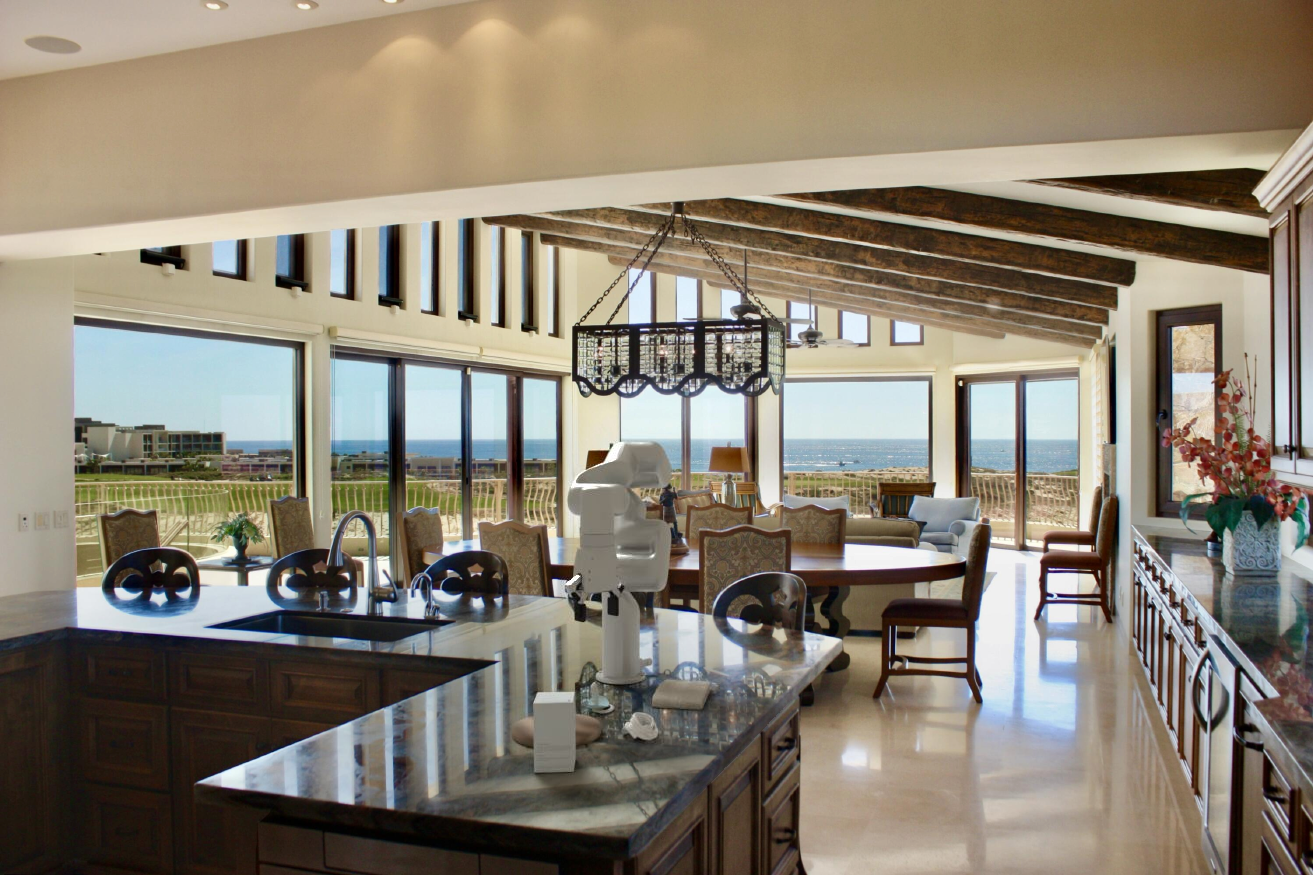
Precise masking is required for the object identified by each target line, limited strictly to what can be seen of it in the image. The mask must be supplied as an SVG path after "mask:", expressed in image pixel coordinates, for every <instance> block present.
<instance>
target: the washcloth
mask: <svg viewBox="0 0 1313 875" xmlns="http://www.w3.org/2000/svg"><path fill="white" fill-rule="evenodd" d="M711 686H712V682H710V681H706V680H700V681H696V680H695V681H691V680H690V681H689V680H684V679H680V678H679V679H665V680H663V682H659V684H658V686H657V688H656V689H655V692H653V695H652V699H651V706H652V707H653V708H657V709H658V708H663V709H664V708H665V709H681V710H695V711H696V710H698V711H701V710H703V708H704V706H705V703H706V701H707V699H708V696H709V694H710V692H711V691H712V689H711Z"/></svg>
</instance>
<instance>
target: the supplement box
mask: <svg viewBox="0 0 1313 875" xmlns="http://www.w3.org/2000/svg"><path fill="white" fill-rule="evenodd" d="M532 708H533V710H532V711H533V712H532V713H533V715H532V716H534V747H533V770H534V773H535V774H536V773H537V774H538V773H574V770H575V766H576V759H577V756H576V755H577V754H576V753H577V749H576V748H577V746H576V744H575V714H576V692H575V691H550V692H549V691H547V692H544V691H543V692H540V691H539V692H536V695H535V698H534V701H533V702H532Z"/></svg>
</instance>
